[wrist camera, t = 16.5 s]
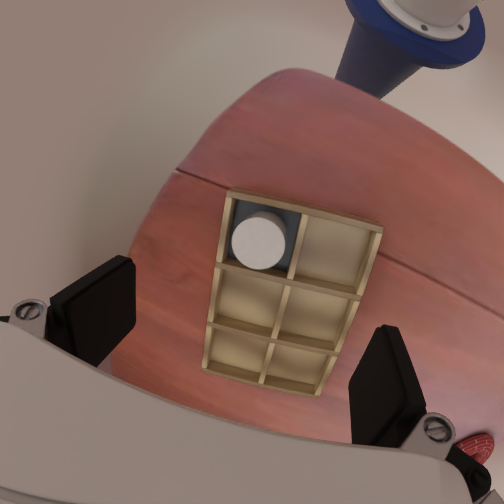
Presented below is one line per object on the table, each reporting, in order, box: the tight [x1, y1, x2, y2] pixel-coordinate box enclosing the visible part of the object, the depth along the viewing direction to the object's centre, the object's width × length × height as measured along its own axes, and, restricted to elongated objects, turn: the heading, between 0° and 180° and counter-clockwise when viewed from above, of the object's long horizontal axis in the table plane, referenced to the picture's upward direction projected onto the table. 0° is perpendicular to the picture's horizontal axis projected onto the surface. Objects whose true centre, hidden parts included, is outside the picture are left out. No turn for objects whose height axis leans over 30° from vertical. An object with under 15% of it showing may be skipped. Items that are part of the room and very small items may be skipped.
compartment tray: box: [201, 188, 384, 399], centre depth 28 cm, size 20×14×2 cm
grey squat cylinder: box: [232, 211, 288, 269], centre depth 25 cm, size 4×4×3 cm
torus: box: [456, 434, 494, 465], centre depth 31 cm, size 16×14×4 cm
